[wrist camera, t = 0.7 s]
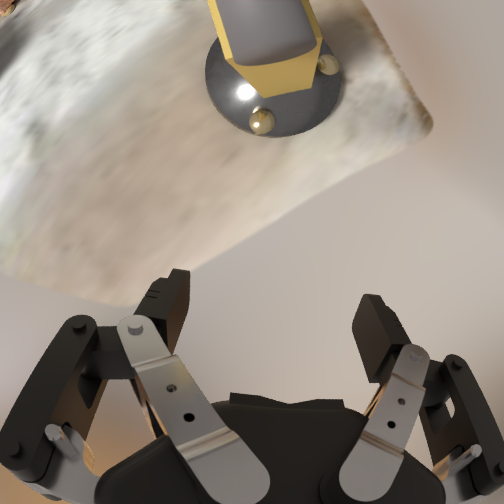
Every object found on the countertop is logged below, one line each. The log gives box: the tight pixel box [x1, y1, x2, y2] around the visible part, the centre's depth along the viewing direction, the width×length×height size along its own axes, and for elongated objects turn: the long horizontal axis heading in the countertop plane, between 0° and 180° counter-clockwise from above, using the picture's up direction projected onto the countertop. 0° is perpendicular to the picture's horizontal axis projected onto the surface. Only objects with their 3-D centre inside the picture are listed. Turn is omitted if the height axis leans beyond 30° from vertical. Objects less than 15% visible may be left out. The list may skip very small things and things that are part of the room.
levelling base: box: [205, 37, 340, 138], centre depth 27 cm, size 15×15×2 cm
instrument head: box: [207, 0, 323, 98], centre depth 16 cm, size 5×8×21 cm, turn 15°
